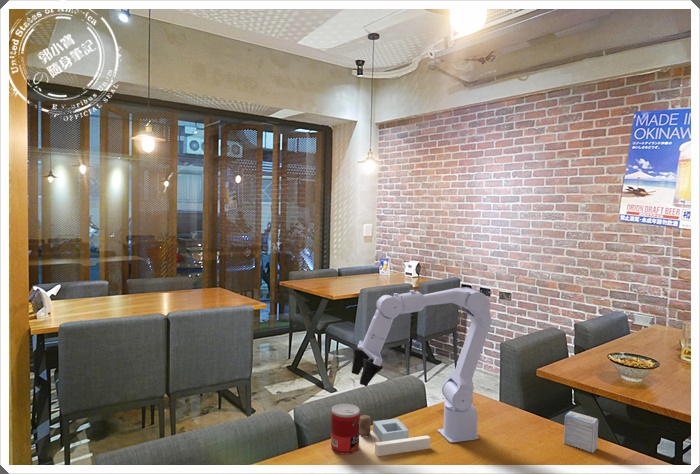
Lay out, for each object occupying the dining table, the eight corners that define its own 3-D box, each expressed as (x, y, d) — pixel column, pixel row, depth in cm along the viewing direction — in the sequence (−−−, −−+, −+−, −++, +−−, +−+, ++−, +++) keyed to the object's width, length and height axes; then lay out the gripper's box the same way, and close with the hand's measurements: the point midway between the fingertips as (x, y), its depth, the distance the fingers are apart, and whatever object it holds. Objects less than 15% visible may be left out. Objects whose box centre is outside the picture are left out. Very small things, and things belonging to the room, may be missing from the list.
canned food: (356, 456, 122) (357, 416, 122) (327, 452, 124) (328, 413, 123) (361, 442, 130) (362, 405, 129) (334, 439, 131) (335, 402, 131)
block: (397, 427, 139) (397, 418, 139) (408, 440, 132) (408, 430, 131) (372, 431, 137) (373, 421, 137) (382, 443, 129) (382, 433, 129)
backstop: (427, 445, 129) (427, 435, 129) (430, 448, 127) (430, 438, 127) (374, 453, 124) (375, 442, 124) (376, 456, 122) (377, 445, 122)
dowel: (367, 430, 137) (368, 414, 137) (371, 435, 134) (372, 419, 134) (357, 432, 136) (357, 415, 136) (361, 437, 133) (361, 420, 132)
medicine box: (597, 448, 130) (599, 418, 129) (593, 454, 126) (594, 423, 126) (568, 438, 135) (569, 410, 135) (563, 443, 132) (564, 414, 131)
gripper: (356, 323, 136) (339, 365, 136) (373, 339, 122) (354, 386, 122) (376, 330, 138) (360, 371, 138) (395, 346, 124) (376, 392, 124)
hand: (358, 379), depth 130 cm, fingers open, 7 cm apart
